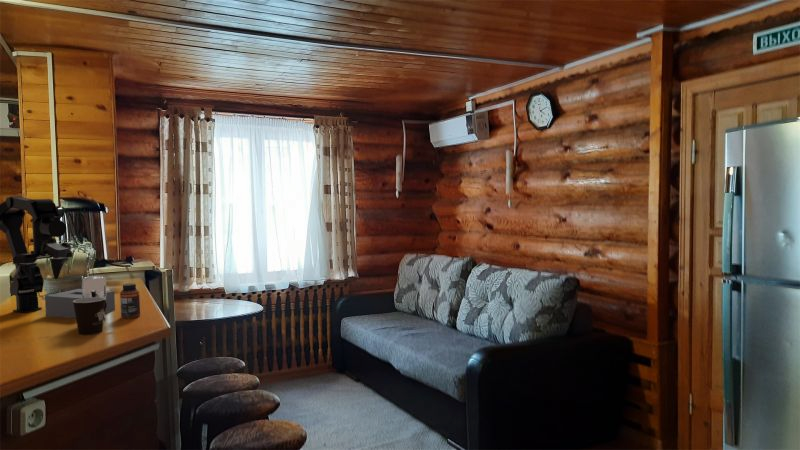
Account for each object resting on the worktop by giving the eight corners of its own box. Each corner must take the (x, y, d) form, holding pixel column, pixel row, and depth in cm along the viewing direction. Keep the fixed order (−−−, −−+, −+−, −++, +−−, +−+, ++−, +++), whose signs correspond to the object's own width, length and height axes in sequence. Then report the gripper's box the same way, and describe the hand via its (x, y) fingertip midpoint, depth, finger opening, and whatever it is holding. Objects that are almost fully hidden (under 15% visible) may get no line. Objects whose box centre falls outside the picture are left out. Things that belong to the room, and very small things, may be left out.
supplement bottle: (134, 314, 199) (133, 282, 198) (143, 316, 196) (142, 283, 195) (117, 317, 194) (116, 284, 194) (126, 319, 191) (125, 286, 190)
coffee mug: (84, 337, 169) (83, 303, 168) (68, 333, 174) (67, 300, 173) (121, 328, 179) (120, 297, 178) (105, 325, 183) (104, 294, 183)
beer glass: (97, 325, 183) (95, 279, 182) (78, 324, 184) (76, 278, 183) (112, 320, 190) (110, 275, 189) (94, 319, 191) (92, 275, 190)
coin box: (45, 316, 197) (45, 295, 196) (79, 307, 210) (78, 288, 209) (83, 319, 192) (82, 298, 192) (115, 310, 205) (114, 290, 205)
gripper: (37, 238, 185) (39, 286, 186) (83, 233, 203) (85, 277, 204) (10, 238, 188) (12, 285, 189) (58, 233, 206) (60, 276, 207)
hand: (44, 280), depth 197 cm, fingers open, 9 cm apart
